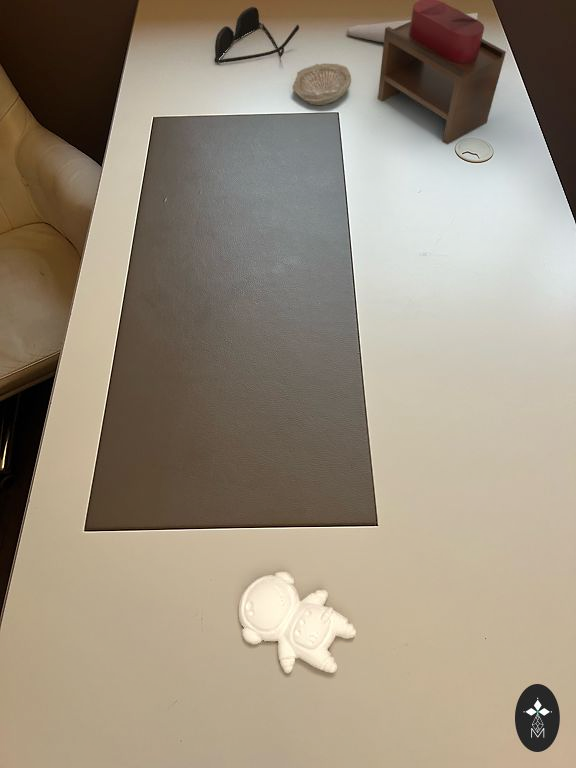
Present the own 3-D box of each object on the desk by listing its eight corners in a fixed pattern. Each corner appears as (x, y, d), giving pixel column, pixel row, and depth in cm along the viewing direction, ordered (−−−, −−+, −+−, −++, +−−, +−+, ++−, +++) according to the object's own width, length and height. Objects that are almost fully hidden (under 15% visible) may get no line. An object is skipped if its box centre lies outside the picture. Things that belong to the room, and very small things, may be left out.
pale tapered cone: (338, 31, 122) (475, 27, 116) (346, 8, 126) (479, 4, 120) (341, 69, 128) (471, 68, 122) (348, 47, 133) (474, 44, 126)
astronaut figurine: (318, 699, 60) (318, 694, 58) (222, 623, 64) (219, 615, 62) (366, 622, 64) (369, 615, 62) (273, 555, 68) (272, 546, 66)
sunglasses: (271, 81, 120) (270, 55, 116) (209, 62, 125) (206, 37, 120) (313, 41, 128) (313, 16, 124) (254, 25, 133) (252, -1, 129)
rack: (416, 79, 120) (427, 9, 109) (486, 123, 112) (506, 51, 101) (377, 98, 117) (385, 27, 106) (447, 144, 108) (462, 72, 98)
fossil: (289, 110, 116) (287, 96, 114) (303, 74, 122) (301, 60, 120) (344, 113, 114) (343, 99, 112) (355, 76, 120) (355, 62, 117)
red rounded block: (402, 33, 106) (406, 6, 103) (426, 22, 108) (430, -5, 105) (460, 67, 100) (467, 39, 97) (484, 55, 102) (491, 27, 98)
